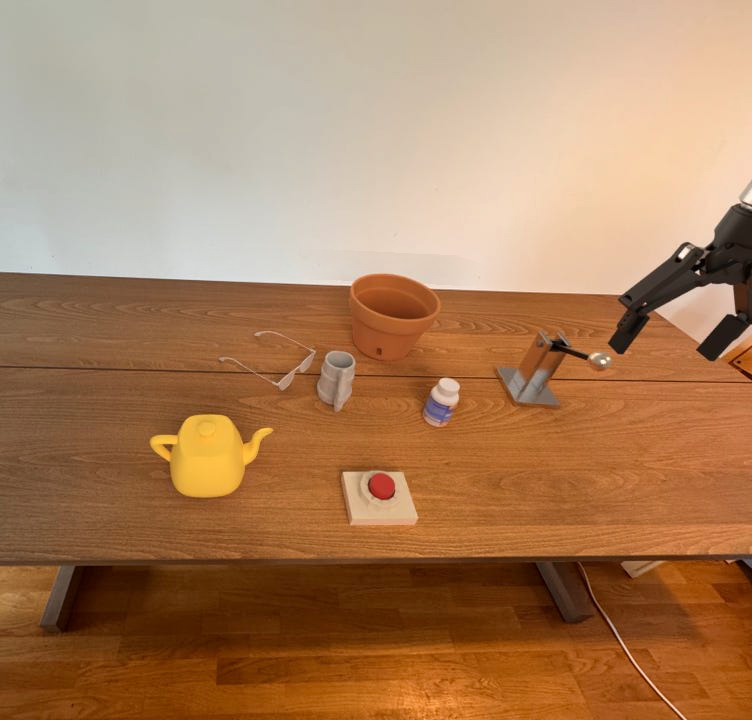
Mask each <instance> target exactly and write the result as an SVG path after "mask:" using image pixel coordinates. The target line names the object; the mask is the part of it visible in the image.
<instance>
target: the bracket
mask: <svg viewBox="0 0 752 720" xmlns="http://www.w3.org/2000/svg"><path fill="white" fill-rule="evenodd" d="M553 339H556V340H559V341H562V343H561V345H562V346H565V347H568V348H571V349H572V347H573V344H572V343H571V342H570V341H569V340H568V338H567V337H566V336H565V334H563V332H557V333H556V335H555V336H554V338H553ZM552 345H553V343H552V342H551V341H550V339H549V337H548V335H547V334H546V333H545V332H544V331H540V330H539V331H538V332H537V334H536V336H535V338H534V340H533V342H531V345H530V346H529V348H528V350H527V352H526V354H525V355H524V357H523V359H522V360H521V363H520V364H519V366H518V367H505V366H504V367H503V366H495V368H494V373H495V375H496V377H497V378H498V380H499V382H500V384H501V386H502V388H503V390H504V391H505V393H506V395H507V396H508V398H509V401H510V402H511V404H512V406H513V407H525V408H536V409H548V410H549V409H551V410H559V409H560V407H562V404H561V403H560V402H559V400H558V399H557V397H556V395H555V394H554V392H553V391H552V390H551V388H550V387H549V385H548V384H549V382H550V381H551V379H552V378H553V376H554V375H555V373H556V371H557V370H558V368H559V367H560V366H561V364H562V362H563V361H564V360H565V358H566V356H567V355H568V354H567V353H564V352H561V351H559V352H550V351H549V350H550V348H551V346H552Z"/></svg>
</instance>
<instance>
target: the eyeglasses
mask: <svg viewBox="0 0 752 720" xmlns="http://www.w3.org/2000/svg"><path fill="white" fill-rule="evenodd" d="M267 333H272V334H276V335H278V336H281V337H284V338H286V339H287V340H290V341H292V342H293V343H296V344H298V345H300V346H301V347H304V348H306V349H307V350H309V351H310V352H311V354H310V355H308V356H307V357H306V358H305V359H304V360H303V361H302V362H301V363H300V364H299V365H298V366H297V367H295V368H294V369H293V370H291V371H290V372H288V373H287V374H286V375H285V376H283V378H281V379H280V381H278V382H276V381H271V380H270V379H268V378H266V377H264V376H262V375H260V374H259V373H256V372H255V371H253V370H252V369H250V368H248V367H247V366H245V365H243V364H242V362H239V361H238V360H237V359H235V358H231V357H228V356H227V357H226V356H221V357H219V358H218V360H219V361H221V362H222V363H223V362H225V361H226V360H231V361H234V362H235V363H237V364H239V365H240V366H242V367H244V368H245V369H247V370H249V371H251V372H252V373H253V374H255V375H258V376H259V377H261V378H263V379H265V380H267V381H268V382H270V383H271V385H274V386H276V387H278V389H279V390H280V391H284V390H286V389H287V388H288V386H290V384H291V383H292V381H293V380H294V377H295V375H296V371H298V370H299V372H300V373H301V374H302V373H305V371H307V370H308V369H309V368H310V366H311V364H312V362H313V361H314V357H315V355H316V353H317V351H316V350H314V349H312V348H308V347H307V346H305V345H303V344H301V343H299V342H297V341H295V340H293V339H291V338H289V337H287V336H284V335H283V334H281V333H278V332H275V331H269V330H267V331H266V330H265V331H263V330H262V331H258V332H255V333H253V336H254V337H260V336H261V335H263V334H267Z"/></svg>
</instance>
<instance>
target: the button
mask: <svg viewBox="0 0 752 720" xmlns="http://www.w3.org/2000/svg"><path fill="white" fill-rule="evenodd" d="M394 489H395V483H394V480H393V479H392V478H391V477H390V476H388V475H387V474H384V473H377V474H375V475H373V476H372V478H371V481H370V484H369V490H370V492H371V493H372V495H373V496H375V497H376V498H378V499H388V498H390V497H391V496H392V494H393V492H394Z"/></svg>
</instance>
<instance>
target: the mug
mask: <svg viewBox="0 0 752 720" xmlns="http://www.w3.org/2000/svg"><path fill="white" fill-rule="evenodd" d="M355 367H356V360H355V358H354V356H353V355H352V354H351V353H349V352H347V351H341V350H331V351H329V352H327V353H326V355H325V356H324V361H323V363H322V365H321V368H320V377H319V380H318V381H317V383H316V391H317V397H319V399H320V400H321V401H322V402H323V403H325V404H327V405H331V406H333V411H334V412H335V413H339V412H340V411H341V410H342V409H343V405H344V404H345V403H347V402H348V400H349V398H351V396H352V393H353V388H352V384H353V380H354V378H355V374H356V372H355Z"/></svg>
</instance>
